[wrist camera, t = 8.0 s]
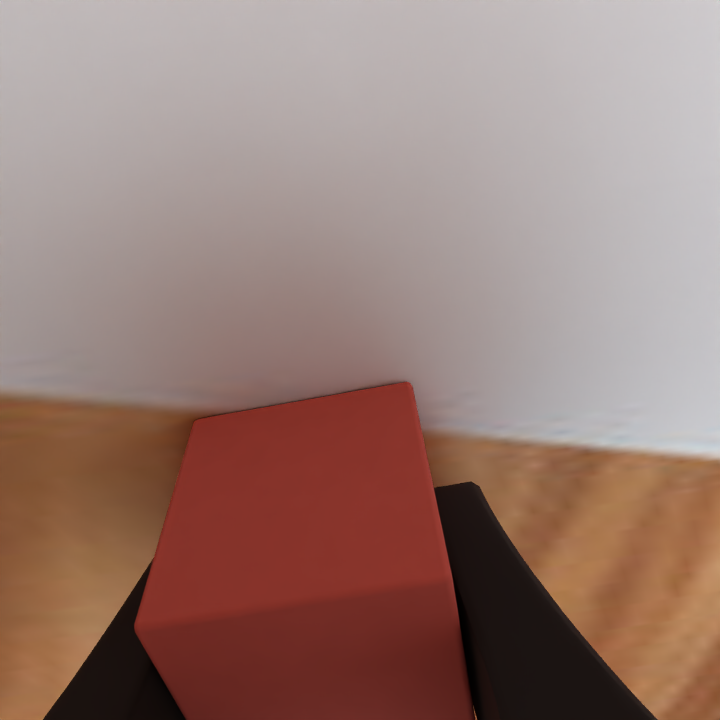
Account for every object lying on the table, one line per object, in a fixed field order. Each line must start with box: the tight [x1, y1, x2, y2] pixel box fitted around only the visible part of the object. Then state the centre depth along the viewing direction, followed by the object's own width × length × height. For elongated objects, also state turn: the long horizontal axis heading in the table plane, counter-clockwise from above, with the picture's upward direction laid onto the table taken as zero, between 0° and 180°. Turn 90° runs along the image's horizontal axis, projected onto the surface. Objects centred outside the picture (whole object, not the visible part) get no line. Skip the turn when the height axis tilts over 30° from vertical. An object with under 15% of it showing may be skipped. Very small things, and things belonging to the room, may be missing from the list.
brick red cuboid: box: [134, 382, 475, 720], centre depth 9 cm, size 4×3×4 cm
